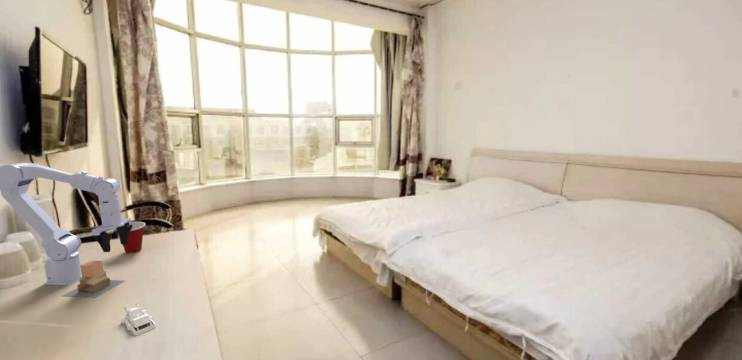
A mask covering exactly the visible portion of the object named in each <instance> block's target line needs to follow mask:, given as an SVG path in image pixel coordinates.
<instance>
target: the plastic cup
mask: <svg viewBox="0 0 742 360" xmlns="http://www.w3.org/2000/svg"><path fill="white" fill-rule="evenodd" d="M130 224H132V225H133V227H132V229H131V231H130V234H129V238H128V244H121V245H122V246H123V250H124V252H125V253H126V254H136V253H138V252H140V250H141V251H142V247H143V238H144V230H145V226H146V222H143V221H131V223H130ZM114 230H116V228H115V229H114Z"/></svg>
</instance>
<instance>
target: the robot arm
mask: <svg viewBox="0 0 742 360" xmlns="http://www.w3.org/2000/svg"><path fill="white" fill-rule="evenodd" d="M39 178H41V179H45V180H50V181H55V182H61V183H66V184H67V183H68V184H69V185H70V187H71V188H73V189H77V190H82V191H86V192H89V193H94V194H95V195H96V196H97V197H98V198H97V199H98V205H99V211H100V218H101V219H100V220H101V225H99V226H98V227H96V228H94V229H91V232H92V233H91V234H92V238H93V239H94V240H95V241H96V242H97V243H98V245H99V246H100V247H101V250H102V252H103V253H110V252H111V238H112V233H108V232H109V231H112V230H116V231H117V234H118V238H119V243H120V244H121V245H122V244H128V238H129V234H130V231H131V229H132V227H133V225H132V224H130V223H131V222H132V219H131V217H128V218H127V217H126V218H122V212H121V211H122V210H121V205H120V199H119V192H118V191H119V190H120V187H121V185H120V182H119V181H118V180H117V179H116V178H115V179H114V178H112V177H106V178H104V176H102V175H99V176H96V175H93V174H89V172H88V171H81V172H80V171H79V172H76V173H70V172H68V171H64V170H63V171H62V170H59V169H55V168H53V167H49V166H45V165H42V164H40V163H32V162H30V161H21V162H18V163H12V164H3V165H1V166H0V195H1V197H2V198H3V199H4V200H5V201H6V202H7V203H8V204H9V205H10V206H11V208H12V209H14V210H15V212H16V213H17V214H18V215H19V216H20V217H22V219H23V220H24V221H25V222H26V224H28V225H29V226H30V227H31V228H32V229H33V230H34V231H35V232H36V233H37V234H38V235H39V236H40V237H41V239H42V240H41V247H42V248H43V249H44V251H45V255H46V256H47V257H48V259H46V261H45V263H44V272H45V273H44V274H45V277H46V278H45V279H46V282H44V284H45V285H53V286H55V285H57V286H71V285H72V284H74V283H76V282H79V277H81V276H82V273H81V267H80V265H82V264H81V258H80V253H79V249H80V247H81V246H82V240H81V239H80V238H79V236H77V235H74V234H73V233H72V232H70V230H67V229H63V228H61V227H60V225H58V224H57V223H56V222H55V221H54V219H52V218H51V216H50V215H48V213H47V212H46V211H45V210H44V209H43V208H42V207H41V206H40V205H39V204H38V203H37V202H36V201H35V200H34V199H33V197H32V196H31V195H30V194H29V193H28V190H29V187H30V185H31V183H33V181H34V180H35V179H39ZM115 228H116V229H115Z"/></svg>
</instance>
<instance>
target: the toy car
mask: <svg viewBox="0 0 742 360" xmlns="http://www.w3.org/2000/svg"><path fill="white" fill-rule="evenodd" d="M133 303H134V304H133V305H134V307H132V308H131V307H130V308H129V307H128V305H126V304H124V306H123V309H124V311H125V317H122V318H121V324H122V325H125V326H126V329H127V330H128V331H130V332H131V333H132V334H133V336H139V335H142V334H144V333H146V332H148V331H150V330H153V329H155V328H157V324H156V323H155V322H154V318H153V315H149V313H148V312H147V310H146V309H142V307H140V305H139V302H138V301H135V302H133ZM147 324H149V325H148V326H146V327H144V328H141V329H139V327H142V326H144V325H147ZM135 328H136V329H135Z"/></svg>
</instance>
